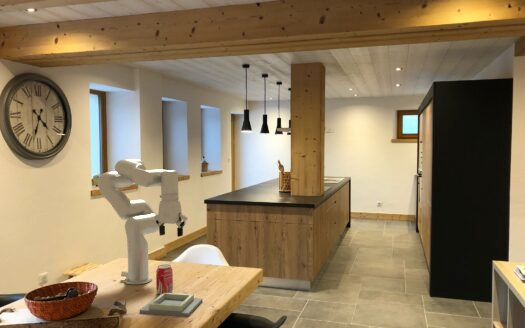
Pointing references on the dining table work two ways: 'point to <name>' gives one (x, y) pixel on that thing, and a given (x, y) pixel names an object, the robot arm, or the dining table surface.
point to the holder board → (172, 304)
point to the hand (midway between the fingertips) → (171, 235)
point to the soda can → (164, 279)
